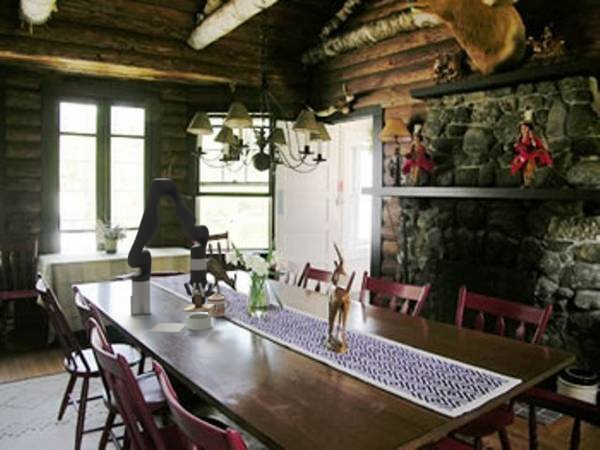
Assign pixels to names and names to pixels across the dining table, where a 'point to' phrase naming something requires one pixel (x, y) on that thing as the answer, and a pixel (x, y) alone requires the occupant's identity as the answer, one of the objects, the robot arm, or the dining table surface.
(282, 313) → the dining table surface
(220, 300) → the teacup with lid
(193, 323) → the bowl
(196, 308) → the cover
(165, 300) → the dining table surface
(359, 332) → the dining table surface
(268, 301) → the glass flower vase
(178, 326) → the mat
